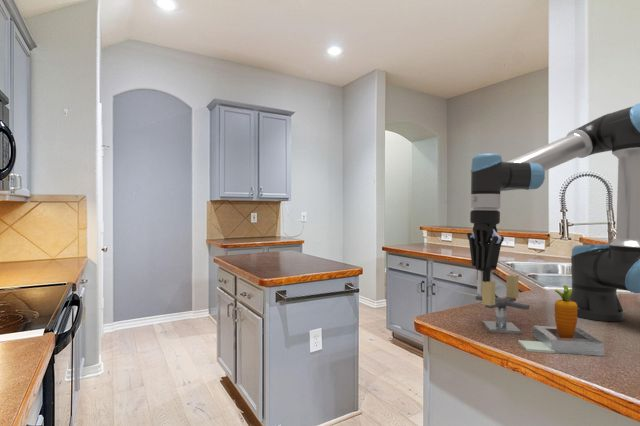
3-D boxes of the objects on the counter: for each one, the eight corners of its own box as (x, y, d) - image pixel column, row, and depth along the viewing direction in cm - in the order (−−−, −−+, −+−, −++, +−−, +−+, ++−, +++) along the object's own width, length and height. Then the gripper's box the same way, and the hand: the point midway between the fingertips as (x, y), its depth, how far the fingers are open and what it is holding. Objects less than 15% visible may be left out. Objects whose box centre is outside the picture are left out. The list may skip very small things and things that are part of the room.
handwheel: (490, 295, 113) (490, 272, 113) (540, 305, 101) (540, 278, 101) (462, 303, 103) (462, 277, 103) (513, 314, 91) (513, 286, 91)
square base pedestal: (511, 325, 105) (511, 301, 105) (521, 334, 97) (521, 308, 97) (482, 323, 107) (482, 300, 107) (489, 332, 99) (489, 307, 99)
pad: (543, 344, 90) (543, 341, 90) (554, 353, 84) (554, 350, 84) (518, 342, 91) (518, 340, 91) (527, 351, 85) (527, 348, 85)
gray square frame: (579, 339, 93) (579, 328, 93) (603, 356, 82) (603, 343, 82) (533, 336, 95) (533, 325, 95) (551, 352, 84) (551, 339, 84)
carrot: (571, 350, 85) (571, 288, 85) (549, 344, 90) (549, 285, 90) (582, 347, 88) (582, 287, 88) (561, 340, 92) (561, 283, 92)
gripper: (459, 209, 104) (457, 288, 105) (488, 209, 92) (486, 300, 92) (482, 209, 106) (480, 287, 106) (513, 210, 93) (511, 299, 93)
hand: (483, 293), depth 99 cm, fingers closed
